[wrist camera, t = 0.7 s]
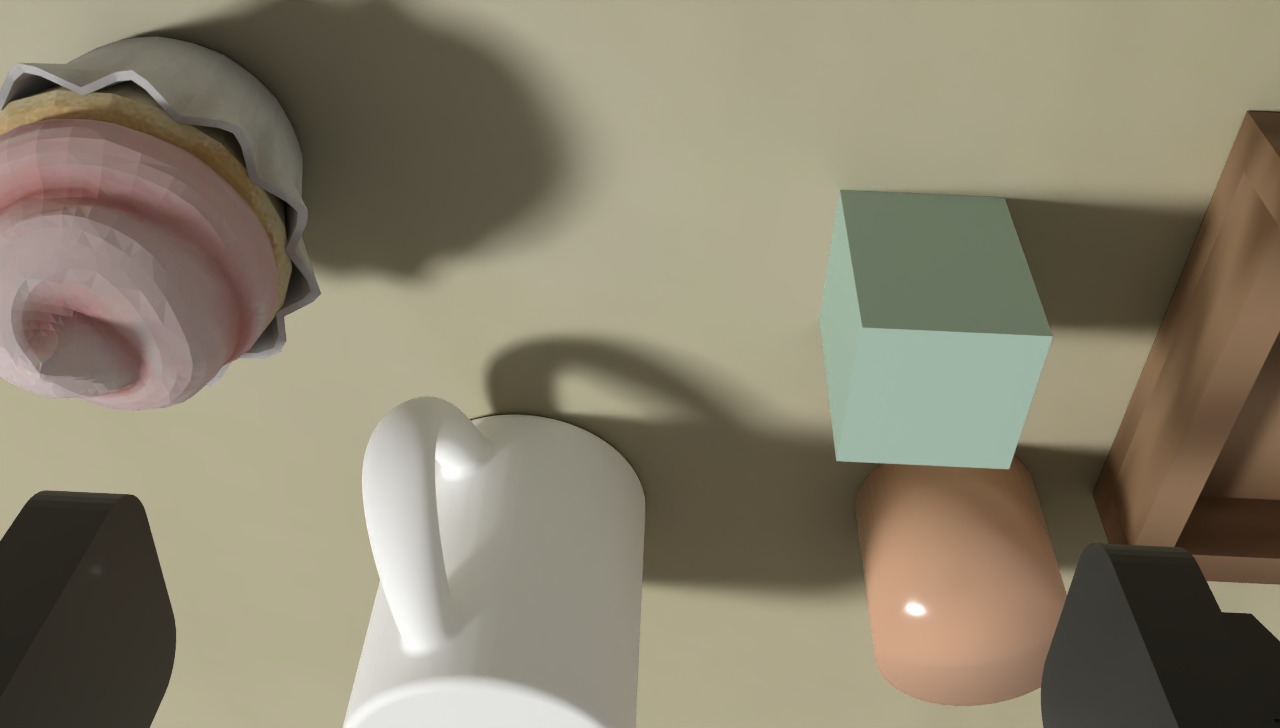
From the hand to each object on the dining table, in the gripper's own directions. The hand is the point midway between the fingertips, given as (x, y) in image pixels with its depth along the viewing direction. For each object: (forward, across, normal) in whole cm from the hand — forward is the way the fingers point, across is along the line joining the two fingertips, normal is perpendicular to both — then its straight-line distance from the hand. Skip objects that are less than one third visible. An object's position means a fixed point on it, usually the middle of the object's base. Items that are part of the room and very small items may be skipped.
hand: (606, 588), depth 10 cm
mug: (+24, +4, +18) cm, 30 cm away
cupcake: (+23, +12, +6) cm, 27 cm away
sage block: (+23, -8, +10) cm, 26 cm away
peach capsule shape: (+24, -10, +19) cm, 32 cm away
